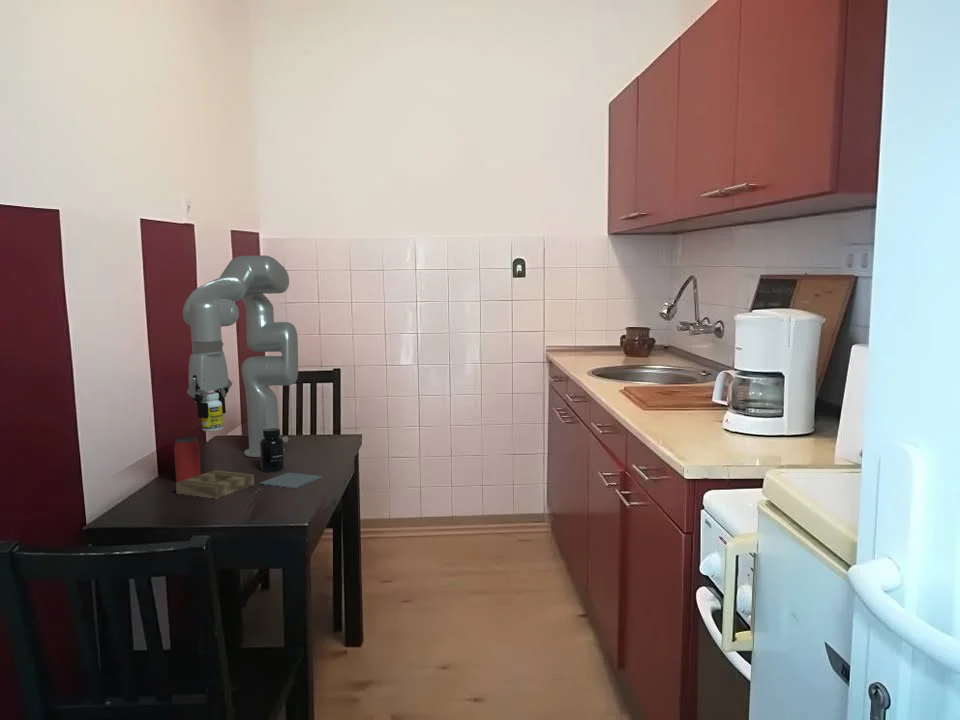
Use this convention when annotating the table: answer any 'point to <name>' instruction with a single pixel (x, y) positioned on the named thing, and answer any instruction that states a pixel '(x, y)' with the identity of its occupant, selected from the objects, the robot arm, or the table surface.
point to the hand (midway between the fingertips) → (212, 414)
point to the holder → (215, 484)
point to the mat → (291, 480)
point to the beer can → (187, 458)
